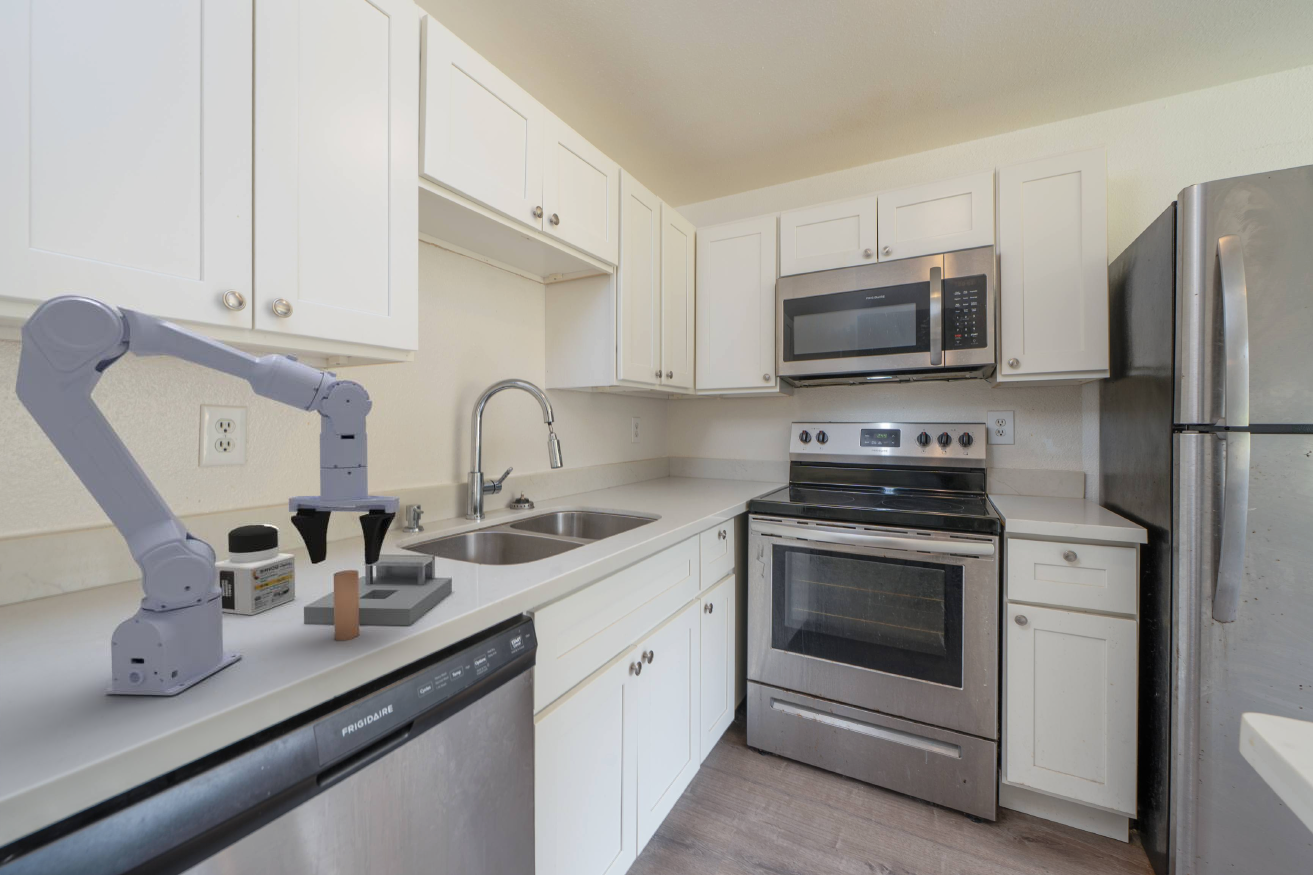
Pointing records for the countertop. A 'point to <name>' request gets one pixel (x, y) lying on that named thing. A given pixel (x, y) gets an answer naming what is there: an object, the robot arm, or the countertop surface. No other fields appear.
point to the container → (255, 571)
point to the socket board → (385, 601)
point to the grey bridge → (402, 568)
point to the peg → (346, 605)
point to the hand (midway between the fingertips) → (345, 562)
